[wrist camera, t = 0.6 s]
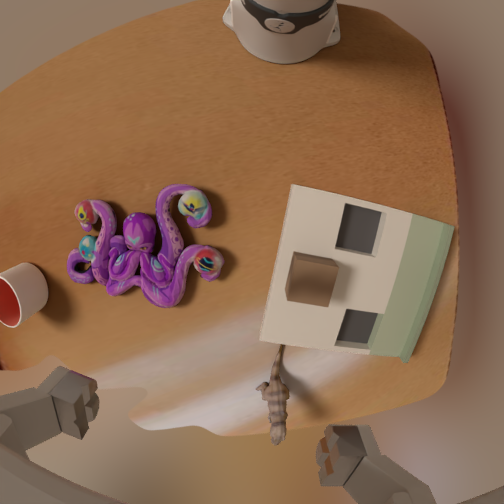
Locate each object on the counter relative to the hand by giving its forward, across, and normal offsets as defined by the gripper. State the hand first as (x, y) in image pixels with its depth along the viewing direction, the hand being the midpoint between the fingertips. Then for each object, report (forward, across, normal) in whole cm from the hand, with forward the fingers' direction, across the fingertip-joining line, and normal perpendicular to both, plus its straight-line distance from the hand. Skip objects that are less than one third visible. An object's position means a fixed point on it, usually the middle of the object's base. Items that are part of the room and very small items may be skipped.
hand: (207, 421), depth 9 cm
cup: (+40, +41, +18) cm, 60 cm away
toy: (+40, -9, +26) cm, 48 cm away
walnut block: (+37, -10, +4) cm, 38 cm away
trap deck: (+39, -19, +4) cm, 44 cm away
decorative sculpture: (+40, +17, +5) cm, 44 cm away
